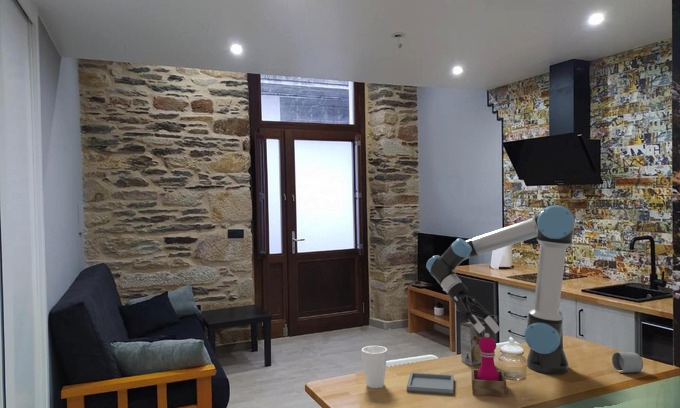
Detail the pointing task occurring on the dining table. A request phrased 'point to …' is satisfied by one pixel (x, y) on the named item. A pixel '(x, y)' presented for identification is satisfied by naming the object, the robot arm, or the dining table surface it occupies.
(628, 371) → the grey slotted cylinder
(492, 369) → the pepper mill
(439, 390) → the slate tray
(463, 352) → the coffee box
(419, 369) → the dining table surface
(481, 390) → the wooden box
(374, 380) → the foam cup
